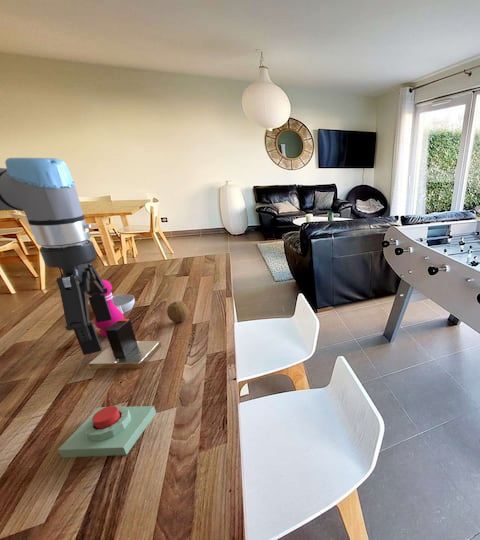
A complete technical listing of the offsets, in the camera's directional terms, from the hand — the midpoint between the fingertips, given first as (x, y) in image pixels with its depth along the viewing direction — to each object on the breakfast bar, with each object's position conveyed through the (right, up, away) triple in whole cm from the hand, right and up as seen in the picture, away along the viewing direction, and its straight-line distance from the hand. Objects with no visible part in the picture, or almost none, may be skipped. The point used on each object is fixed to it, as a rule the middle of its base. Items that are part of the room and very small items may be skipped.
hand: (99, 335), depth 63 cm
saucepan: (-30, -2, +41) cm, 51 cm away
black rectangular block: (-9, -9, +19) cm, 23 cm away
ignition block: (+5, -20, -3) cm, 21 cm away
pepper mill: (-23, -6, +31) cm, 39 cm away
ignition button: (+5, -17, -4) cm, 18 cm away
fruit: (-6, -4, +37) cm, 38 cm away
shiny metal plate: (-9, -11, +19) cm, 24 cm away
